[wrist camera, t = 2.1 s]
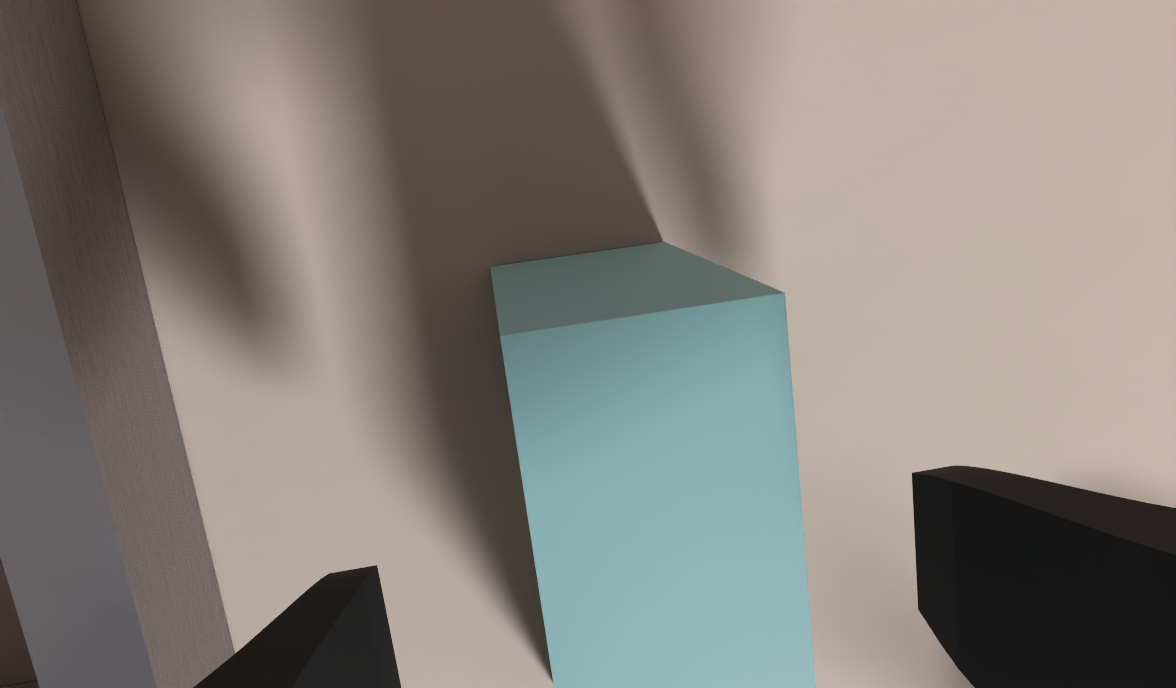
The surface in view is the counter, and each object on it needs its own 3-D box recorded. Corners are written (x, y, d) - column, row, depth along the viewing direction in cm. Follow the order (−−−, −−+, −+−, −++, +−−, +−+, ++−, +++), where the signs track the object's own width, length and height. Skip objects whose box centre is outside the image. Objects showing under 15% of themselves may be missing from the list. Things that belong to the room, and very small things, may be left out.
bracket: (708, 656, 17) (834, 920, 11) (554, 684, 16) (597, 974, 11) (663, 242, 15) (784, 292, 9) (490, 266, 15) (500, 336, 9)
